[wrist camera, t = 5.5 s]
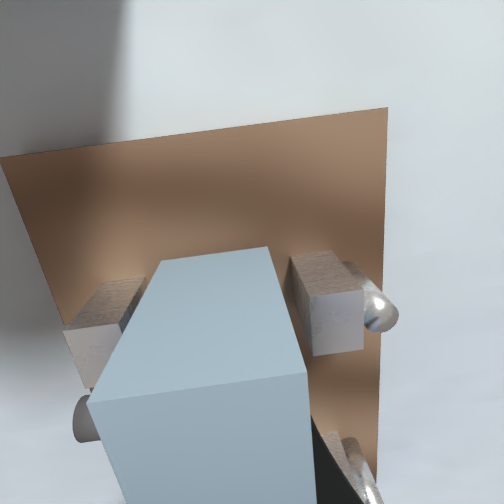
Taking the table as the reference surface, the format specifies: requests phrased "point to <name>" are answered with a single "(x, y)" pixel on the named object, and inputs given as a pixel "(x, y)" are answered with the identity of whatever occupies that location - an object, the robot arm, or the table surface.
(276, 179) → the cabinet panel
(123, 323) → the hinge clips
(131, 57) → the table surface
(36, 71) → the table surface
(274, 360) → the pale blue square pillar
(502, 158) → the table surface
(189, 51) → the table surface
